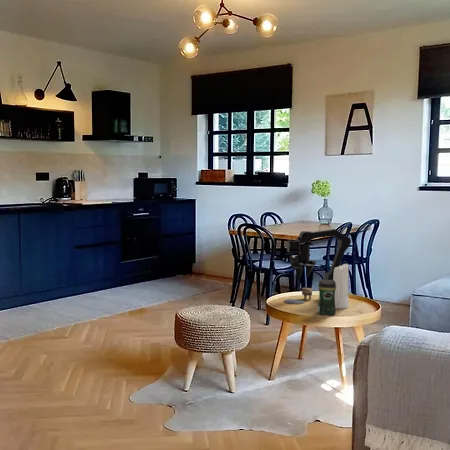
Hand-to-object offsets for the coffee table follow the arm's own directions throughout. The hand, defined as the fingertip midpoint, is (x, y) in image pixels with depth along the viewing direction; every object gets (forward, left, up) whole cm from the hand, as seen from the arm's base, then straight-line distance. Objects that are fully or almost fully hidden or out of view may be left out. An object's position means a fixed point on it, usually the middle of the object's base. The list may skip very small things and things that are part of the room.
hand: (303, 277), depth 337 cm
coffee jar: (-30, +18, -13) cm, 38 cm away
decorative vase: (-25, -2, -13) cm, 29 cm away
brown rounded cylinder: (-2, -2, -13) cm, 13 cm away
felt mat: (-1, +9, -13) cm, 16 cm away
